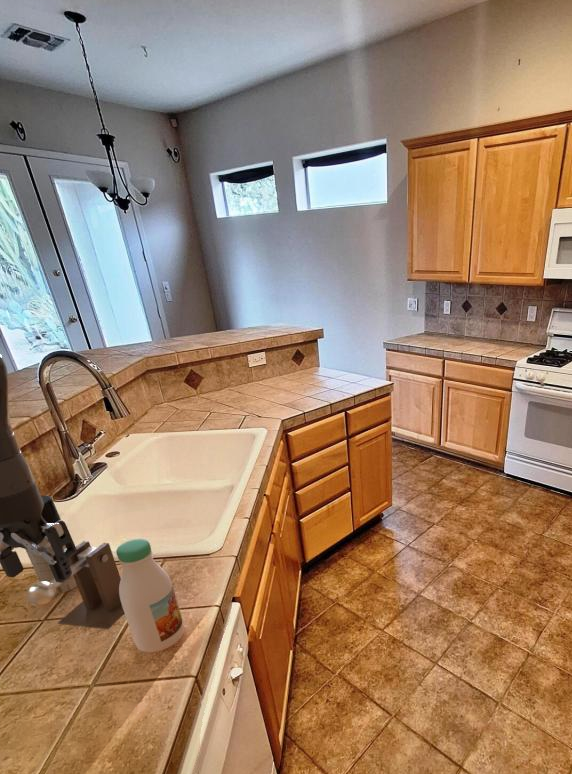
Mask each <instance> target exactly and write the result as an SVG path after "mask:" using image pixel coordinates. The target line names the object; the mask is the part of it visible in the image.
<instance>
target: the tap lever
mask: <svg viewBox="0 0 572 774" xmlns="http://www.w3.org/2000/svg"><path fill="white" fill-rule="evenodd" d="M96 548H98V547H97V546H96V547H95V546H91V547H88V548H86V549H85V550H84V551H82V552H81V553H79V554H78V555H77V558H78V560H79V561H77V562H76V563H74V564H73V565H72V566H70V568H71V571H72V574H71V576H72V575H74V574H75V573H76V572H78V571H79V570H80V569H82V568H83V567H89V565H88V562H87V559H86V556H87V555H88V554H90V553H91V552H92V551H94V550H95V549H96ZM71 576H70V577H71ZM70 577H69V578H70ZM65 581H66V580H65ZM65 581H64V582H65ZM61 584H62V583H59V582H56V581H55V578H54V579H53V580H51V581H50V582H46V581H42V582H40V581H38V582H36V583H34V584H32V585H31V586H30V587H29V588H28V589H27V593H26V597H27V599H28V601H29V602H30V603H31V604H34V605H45V604H48V603H51V601H53V600H54V599H55V597H56V595H57V594H56V588H57V587H58V586H59V585H61Z"/></svg>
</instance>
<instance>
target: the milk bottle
mask: <svg viewBox="0 0 572 774" xmlns="http://www.w3.org/2000/svg"><path fill="white" fill-rule="evenodd" d="M115 552H116V557H117V559H118V562H119V564H120V565H121V566H122V572H121V576H120V578H121V581H120V585H119V595H120V600H121V604H122V607H123V610H124V615H125V616H124V617H125V618H126V622H127V624H128V627H129V630H130V633H131V636H132V639H133V642H134V645H135V647H136V648H137V650H139V652H140V651H141V652H144V653H157V652H161V651H164V650H166V649H168V648H170V647H172V646H173V645H175V644H176V643H177V642H178V641H180V639H181V638H182V637H183V635H184V632H185V624H184V620H183V617H182V614H181V609H180V606H179V602H178V598H177V596H176V592H175V588H174V586H173V583H172V580H171V578H170V576H169V574H168V573H167V572H166V570H165V569H164V568H162V567H161V566H160V565H159V564H158V562H156V560H155V559H154V558H153V551H152V547H151V544H150V542H149V540H147V539H144V538H134V539H130V540H128V541H124V542H122V543H121V544H120V545H119V546H118V547H117V548H116V551H115Z"/></svg>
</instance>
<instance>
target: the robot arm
mask: <svg viewBox="0 0 572 774" xmlns="http://www.w3.org/2000/svg"><path fill="white" fill-rule="evenodd" d="M39 490H40V489H39V487H38V485H37V482H36V479H35V477H34V475H33V472H32V469H31V467H30V465H29V462H28V461H27V459H26V458H25V456H24V454H23V452H22V450H21V448H20V445H19V443H18V439H17V437H16V435H15V433H14V430H13V427H12V423H11V416H10V405H9V374H8V368H7V364H6V362H5V360H4V358H3V356H2V354H0V566H1V568H2V570H3V572H4V573H5V575H6V577H7V578H16V577H17V576H18V575H20V574H21V573H23V571H24V566H23V564H22V561H21V559H20V557H19V555H18V553H17V551H16V550H14V549H18V548H21V549H24V550H25V549H28V550H30V551H31V552H32V553H33V554H34V555H36V556H39V555H40V556H42V557H43V558H44V559H45V560H46V561H47V562H49V563H50V564H49V566H50V568H51V571H52V573H53V576H54V578H55V581H56V582H59V583H63V582H64V581H65V580H67V579H68V578H69V577H70V576H71V574H72V571H71V568H70V565H69V563H68V560H67V559H69V558H70V557H71V556H73V555H74V554H76V553H77V549H76V545H75V542H74V540H73V537H72V536H71V533H70V531H69V528H68V526H67V523H66V522H65V520H62V519H61V520H59V521H57V522H56V523H47V522H46V521H45V520H44V519H43V518H42V516H41V512H42V509H43V507H44V503H43V500H42V498H41V495H42V494H41V492H40V491H39ZM44 538H45V539H46V540H47V541H48V543H46V544H45V545H43V546H41V547H39V546H37V545H38V544H40V543H41V542H42V541H43V539H44ZM64 545H65V546H66V549H64V548H63V546H64ZM49 548H52V549H53V551H54V553H55V554H54V555H52V554H51V553H50V552H48V551H47V549H49Z"/></svg>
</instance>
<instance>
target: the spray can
mask: <svg viewBox="0 0 572 774" xmlns="http://www.w3.org/2000/svg"><path fill="white" fill-rule="evenodd" d="M40 495H41V498H42V500H43V503H44V507H43V509H42V512H41V516H42V518H43V519H44V520H45V521H46V522H47V523H56V522H57V521H59V520H62V519H61V516H60V514H59V512H58V510H57V507H56V504H55V502H54V500H53V499H54V498H52V497H51V496H50V495H47V494H46V495H44V494H40ZM46 543H48V541H47V540H46V539H45V538H44V539H43V541H42V542H41V543H40V544H38V545H37V546H39V547H41V546H43V545H45V544H46ZM63 548H64V549H66V546H65V545H64V546H63ZM24 550H25V552H26V554H27V556H28V558H29V561H30V564H31V565H32V567H33V569H34V572H35V574H36V576H37V579H38V582H42V581H46V582H50V581H51V580H53V579H54V576H53V573H52V571H51V568H50V566H49V564H50V563H49V562H47V561H46V560H45V559H44V558H43V557H42V556H40V555H39V556H36V555H34V554H33V553H32V552H31V551H30V550H28V549H24ZM47 551H48V552H50V553H51V554H52V555H54V554H55V553H54V551H53V549H52V548H49V549H47ZM75 588H78V587H77V584H76V582H75V579H74V577H73V575H72V576H71V577H70V578H68V579H67V580H66V581H65V582H63V583H62V584H61V585H59V586H58V587H57V588H56V595H60V594H63V593H66V592H69V591H72V590H73V589H75Z"/></svg>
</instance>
